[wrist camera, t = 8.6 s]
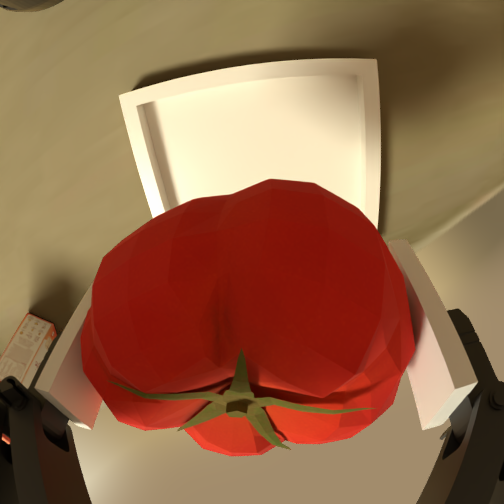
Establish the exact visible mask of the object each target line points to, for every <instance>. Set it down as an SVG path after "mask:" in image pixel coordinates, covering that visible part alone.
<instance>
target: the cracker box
mask: <svg viewBox="0 0 504 504" xmlns="http://www.w3.org/2000/svg"><path fill="white" fill-rule="evenodd" d="M56 336H57V333H56V330H55V327H54V324H53V323H50V322H48V321H46V320H43V319H41V318H39V317H37V316H34V315H32V314H30V313H27V314H26V316H25V317H24V319H23V321H22V322H21V324H20V325H19V327H18V329H17V330H16V332H15V333H14V335H13V337H12V338H11V340H10V342H9V343H8V345H7V347H6V348H5V350H4V352H3V354H2V355H1V357H0V382H1V381H2V380H3V379H4V378H5V377H7V376H14V377H16V378H17V379H18V380H19V381H20V382H21V383H22V384H23V385H24V386H25V387H26V388H27V389H28V388H29V386H30V384H31V382H32V380H33V378H34V376H35V374H36V372H37V370H38V368H39V366H40V364H41V362H42V360H44V356H45V354H46V352H48V348H49V347H50V345H51V343H52V341H53V340H54V338H55V337H56ZM2 440H3V441H5V442H6V443H8V444H10V442H11V441H10V438H8V437H7V436H5V435H4V434H2Z"/></svg>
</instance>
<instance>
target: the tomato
mask: <svg viewBox="0 0 504 504" xmlns="http://www.w3.org/2000/svg"><path fill="white" fill-rule="evenodd" d="M80 342H81V355H82V366H83V372H84V374H85V375H86V377H87V378H88V379H89V381H90V382H91V384H92V385H93V387H94V388H95V389H96V391H97V392H98V394H99V395H100V396H101V398H102V399H103V400H104V402H105V403H106V405H107V406H108V408H109V409H110V410H111V412H112V413H113V415H114V416H115V417H116V419H117V420H118V421H120V422H122V423H125V424H127V425H130V426H133V427H136V428H139V429H142V430H145V431H146V430H157V429H165V428H174V427H180V428H179V429H178V431H179V430H182V429H184V430H185V431H186V432H187V433H188V434H189V435H190V436H191V437H192V438H193V439H194V440H195V441H196V442H197V443H198V444H199V445H200V446H201V447H202V448H203V449H206V450H210V451H213V452H217V453H221V454H225V455H229V456H249V455H262V454H264V453H265V452H267V451H269V450H270V449H272V448H274V447H275V446H279V447H282V448H286V449H290V448H289V447H287V446H285V445H284V444H282V442H283V441H285V440H287V441H290V442H293V443H296V444H323V443H328V442H333V441H338V440H343V439H347V438H351V437H353V436H354V435H356V434H357V433H358V432H360V431H361V430H363V429H364V428H366V427H367V426H369V425H370V424H371V423H373V422H374V421H375V420H376V419H377V418H378V417H379V416H380V415H382V414H383V413H384V412H385V411H386V410H387V409H388V408H389V407H390V406H391V405H392V404H393V402H394V399H395V396H396V392H397V390H398V386H399V383H400V379H401V376H402V375H403V373H404V371H405V369H406V367H407V365H408V364H409V362H410V360H411V358H412V356H413V354H414V352H415V342H414V335H413V328H412V321H411V314H410V308H409V302H408V297H407V291H406V286H405V281H404V276H403V274H402V272H401V270H400V269H399V267H398V265H397V263H396V261H395V260H394V258H393V256H392V254H391V252H390V251H389V249H388V247H387V245H386V244H385V242H384V240H383V239H382V237H381V235H380V234H379V232H378V230H377V229H376V227H375V225H374V224H373V223H372V222H371V221H370V220H369V219H368V218H367V217H366V216H365V215H364V214H363V212H362V211H361V210H360V209H359V208H358V207H356V206H354V205H353V204H351V203H349V202H347V201H346V200H344V199H342V198H341V197H339V196H337V195H335V194H334V193H332V192H330V191H328V190H326V189H325V188H323V187H321V186H319V185H317V184H316V183H313V182H303V181H293V180H282V179H270V178H269V179H267V180H264V181H262V182H259V183H257V184H255V185H252V186H250V187H247V188H245V189H243V190H240V191H238V192H235V193H233V194H228V195H218V196H209V197H201V198H196V199H192V200H190V201H187V202H185V203H183V204H181V205H179V206H177V207H175V208H173V209H170V210H168V211H166V212H164V213H162V214H160V215H158V216H156V217H154V218H153V219H151V220H150V221H149V222H147V223H146V224H144V225H143V226H141V227H140V228H139V229H137V230H136V231H134V232H133V233H132V234H130V235H129V236H127V237H126V238H125V239H123V240H122V241H121V242H120V243H118V244H117V245H116V246H115V247H114V248H113V249H112V250H111V251H110V252H109V253H107V254H106V255H105V256H104V257H103V259H102V262H101V264H100V267H99V269H98V272H97V274H96V277H95V280H94V282H93V285H92V297H91V307H90V308H89V310H88V312H87V315H86V319H85V322H84V326H83V329H82V333H81V337H80ZM290 450H291V449H290Z"/></svg>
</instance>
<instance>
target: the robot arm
mask: <svg viewBox="0 0 504 504" xmlns="http://www.w3.org/2000/svg"><path fill="white" fill-rule="evenodd" d="M61 1H63V0H0V7H1V8H3V9H5V10H9V11H15V12H34V11H40V10H44V9H47V8H49V7H52V6H54V5H56V4H58V3H60V2H61ZM388 249H389V251H390V252H391V254H392V256H393V258H394V260H395V261H396V263H397V265H398V267H399V269H400V270H401V272H402V274H403V276H404V281H405V286H406V291H407V297H408V302H409V308H410V314H411V321H412V328H413V335H414V342H415V352H414V354H413V356H412V358H411V360H410V362H409V364H408V365H407V367H406V369H407V372H408V375H409V379H410V382H411V386H412V390H413V393H414V397H415V401H416V405H417V409H418V413H419V417H420V422H421V426H422V430H424V429H428V428H432V427H436V426H439V425H442V424H443V423H444V422H445V421H446V420H447V419H448V418H450V422H451V426H450V427H449V428H448V429H447V430H446V431H445V432H444V433H443V434H442V436H441V437H440V439H441V440H442V439H443V438H445V437H446V438H445V440H444V443H443V446H442V449H441V451H440V454H439V456H438V459H437V461H436V463H435V465H434V468H433V470H432V472H431V475H430V477H429V479H428V481H427V484H426V485H425V487H424V489H423V492H422V494H421V496H420V497H419V499H418V501H417V503H416V504H504V382H502V381H498V379H497V377H496V375H495V373H494V370H493V368H492V366H491V363H490V361H489V359H488V357H487V355H486V352H485V350H484V348H483V346H482V344H481V342H479V338H478V336H477V334H476V333H475V330H474V328H473V326H472V324H471V322H470V320H469V318H468V317H467V316H466V315H465V314H464V313H463V312H462V311H461V310H459V309H454V310H448V311H446V309H445V307H444V305H443V303H442V301H441V299H440V297H439V295H438V293H437V291H436V290H435V288H434V286H433V284H432V282H431V280H430V279H429V277H428V275H427V273H426V272H425V270H424V268H423V266H422V265H421V263H420V261H419V259H418V258H417V256H416V254H415V253H414V251H413V249H412V248H411V246H410V245H409V243H408V241H407V240H406V239H402V240H391V241H389V244H388ZM94 280H95V279H94ZM94 280H93V282H94ZM93 282H92V284H91V285H90V287H89V288H88V290H87V292H86V293H85V295H84V296H83V298H82V300H81V301H80V303H79V305H78V306H77V308H76V310H75V311H74V313H73V315H72V317H71V318H70V320H69V322H68V324H67V325H66V327H65V329H64V331H61V332H60V333H59V334H58V335H57V336H56V337H55V338H54V340H53V341H52V343H51V345H50V347H49V348H48V352H46V354H45V356H44V360H42V362H41V364H40V366H39V368H38V370H37V372H36V374H35V376H34V378H33V380H32V382H31V384H30V386H29V388H28V389H27V388H26V387H25V386H24V385H23V384H22V383H21V382H20V381H19V380H18V379H17V378H16V377H14V376H7V377H5V378H4V379H3V380H2V381H1V382H0V504H92V503H91V500H90V497H89V494H88V491H87V488H86V485H85V481H84V478H83V474H82V471H81V468H80V464H79V460H78V456H77V452H76V448H75V444H74V439H73V434H72V430H71V428H70V426H69V425H68V424H67V423H68V421H69V419H70V420H71V421H72V422H73V423H75V424H76V425H77V426H79V427H83V428H87V429H90V430H92V429H93V426H94V423H95V420H96V417H97V414H98V411H99V408H100V405H101V402H102V400H103V399H102V398H101V396H100V395H99V394H98V392H97V391H96V389H95V388H94V387H93V385H92V384H91V382H90V381H89V379H88V378H87V377H86V375H85V374H84V372H83V366H82V355H81V342H80V337H81V333H82V329H83V326H84V322H85V319H86V315H87V312H88V310H89V308H90V307H91V297H92V285H93ZM2 434H4V435H5V436H7V437H8V438H10V441H11V442H10V444H8V443H6V442H5V441H3V440H2Z"/></svg>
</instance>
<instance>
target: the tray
mask: <svg viewBox="0 0 504 504" xmlns="http://www.w3.org/2000/svg"><path fill="white" fill-rule="evenodd" d="M119 98H120V103H121V107H122V111H123V115H124V119H125V123H126V127H127V131H128V135H129V138H130V142H131V146H132V150H133V153H134V157H135V160H136V164H137V167H138V171H139V174H140V177H141V181H142V184H143V187H144V191H145V194H146V197H147V200H148V203H149V206H150V210H151V213H152V216H153V218H154V217H156V216H158V215H160V214H162V213H164V212H166V211H168V210H170V209H173V208H175V207H177V206H179V205H181V204H183V203H185V202H187V201H190V200H192V199H196V198H201V197H209V196H218V195H228V194H233V193H235V192H238V191H240V190H243V189H245V188H247V187H250V186H252V185H255V184H257V183H259V182H262V181H264V180H267V179H269V178H270V179H282V180H293V181H303V182H313V183H316V184H317V185H319V186H321V187H323V188H325V189H326V190H328V191H330V192H332V193H334V194H335V195H337V196H339V197H341V198H342V199H344V200H346V201H347V202H349V203H351V204H353V205H354V206H356V207H358V208H359V209H360V210H361V211H362V212H363V214H364V215H365V216H366V217H367V218H368V219H369V220H370V221H371V222H372V223H373V224H374V225H375V227H376V229H377V227H378V214H379V197H380V172H381V121H380V96H379V80H378V68H377V59H356V58H330V59H304V60H289V61H278V62H268V63H260V64H252V65H245V66H238V67H232V68H226V69H220V70H214V71H209V72H204V73H199V74H195V75H190V76H186V77H181V78H177V79H173V80H169V81H165V82H162V83H158V84H154V85H151V86H147V87H144V88H141V89H137V90H134V91H131V92H128V93H125V94H122V95H119Z"/></svg>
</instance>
